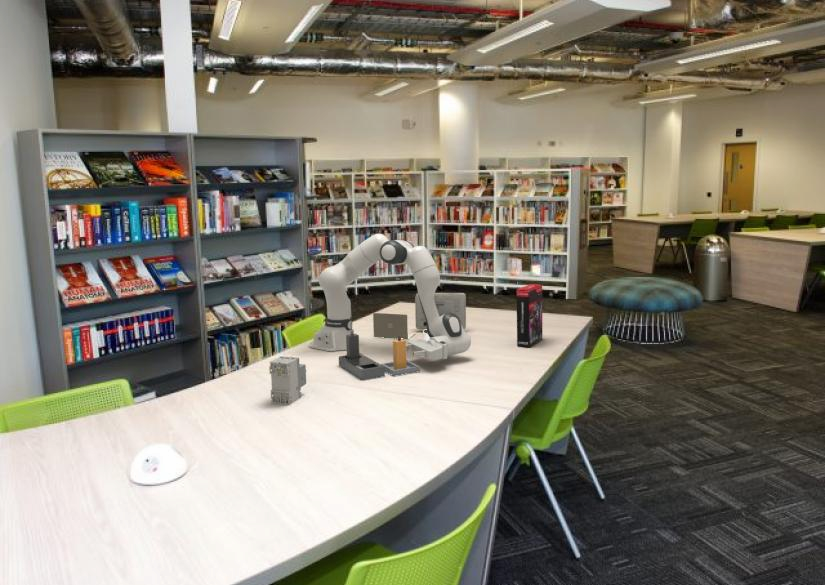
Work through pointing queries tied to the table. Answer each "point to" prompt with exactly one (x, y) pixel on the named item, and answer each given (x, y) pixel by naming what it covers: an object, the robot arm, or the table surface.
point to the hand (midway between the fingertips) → (407, 351)
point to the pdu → (362, 367)
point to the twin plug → (352, 345)
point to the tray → (410, 367)
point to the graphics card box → (529, 315)
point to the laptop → (390, 325)
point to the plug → (399, 353)
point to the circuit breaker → (286, 379)
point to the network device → (443, 307)
